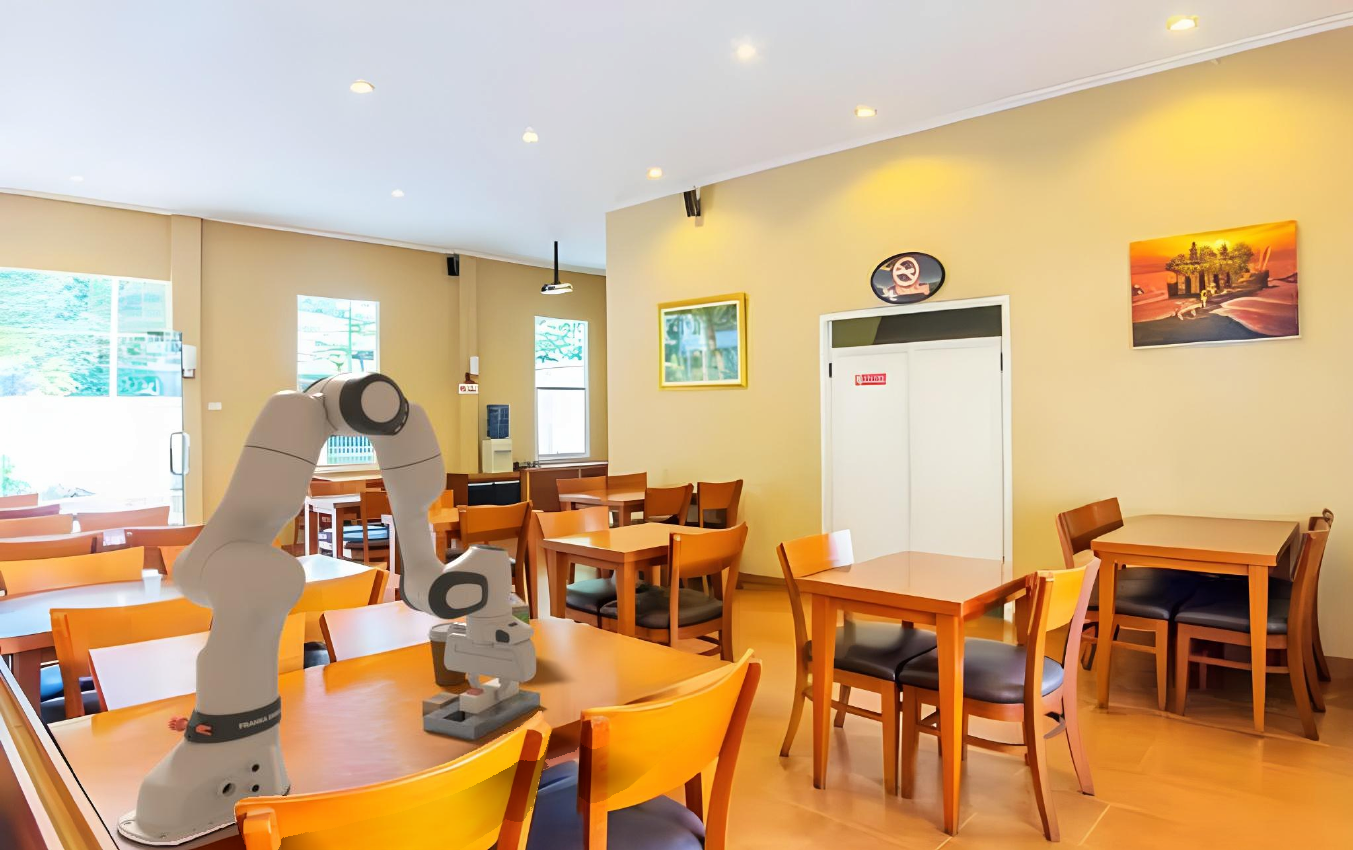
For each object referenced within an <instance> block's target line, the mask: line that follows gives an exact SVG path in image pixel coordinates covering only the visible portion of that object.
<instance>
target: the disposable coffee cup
mask: <svg viewBox="0 0 1353 850" xmlns="http://www.w3.org/2000/svg"><path fill="white" fill-rule="evenodd" d="M453 623H460V624H466V622H461V621H460V622H459V621H453V622H452V621H450V622H441V623H437V624H435V625H432V626H430V627H429V631H428V633H427V636H428V638H429V641H430V648H431V655H432V656H431V657H432V664H433V665H432V666H433V672H434V680H435V684H437V685H439V686H455V685H460V684H462V683H464V682H465V680H466V676H467V673H464V672H458V671H453V670H448V669H447V668H446V666H445V664H444V655H445V646H446V641H447V629H448V628H449V626H450V625H452V624H453ZM452 627H453V626H452Z"/></svg>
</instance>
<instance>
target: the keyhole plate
mask: <svg viewBox="0 0 1353 850" xmlns="http://www.w3.org/2000/svg"><path fill="white" fill-rule="evenodd" d="M538 705H540V706H541V693H540V692H538V691H537V692H536V691H532V690H531V691H530V690H525V689H520V688H519V693H517V694H515V695H513V696H511V697H509V698H507V699H505V701H503V702H501V703H499V704H497V705H493V706H491V707H489V708H487V709H485V710H483V711H481V712H479V713H477V714H475V716H473V717H471V718H469V719H466V720H465V711H460V700H458V701H456V702H454V703H451V704H449V705H447V706H445V707H443V708H441V709H438V710H436V711H434V712H432V713H430V714H428V715H425V716H423V715H422V717H423V718H422V719H423V723H422V724H423V725H422V726H423V731H426V732H427V731H428V732H432V733H437V734H441V735H446V736H451V737H454V738H455V737H456V738H458V739H459V738H460V739H463V740H467V741H473V742H475V741H477V740H479V739H480V737H481V738H482V737H484V736H485V734H486V735H488V734H489V732H490V733H491V731H492V732H494V731H495V730H497V729H499V728H500V727H503V726H505V725H506V724H508V723H510V722H513V721H514V720H515V719H517V717H518V718H519V717H521V716H523V715H526V713H528V712H531V711H533V710H534V709H536V708H538V707H539V706H538ZM537 706H538V707H537ZM535 707H536V708H535ZM513 719H514V720H513ZM509 721H510V722H509ZM502 725H503V726H502ZM498 727H499V728H498ZM487 733H488V734H487ZM478 738H479V739H478ZM476 739H477V740H476Z"/></svg>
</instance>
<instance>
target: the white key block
mask: <svg viewBox="0 0 1353 850" xmlns="http://www.w3.org/2000/svg"><path fill="white" fill-rule="evenodd" d="M500 685H501V684H499V681H498V678H493V679H491V680H489V681H487V682H485V683H482V684H481V685H480V686H478V687H476V688H474V687H473V688H472V687H471V688H469V689H466V691H465V692H463V693H460V694H459V695H460V711H465V720H466V719H469V718H471V717H473V716H475V714H477V713H479V712H481V711H483V710H485V709H487V708H489V707H491V706H493V705H497V704H499V703H501V702H503V701H505V700H503V701H498V700H495V699H494V697H495V695H494V691H496V690H498V689H499V688H500ZM519 689H520V682H516V681H511V682H510V684H509V686H508V688H507V690H506V698H505V699H507V698H509V697H511V696H513V695H515V694H517V693H519Z"/></svg>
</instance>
